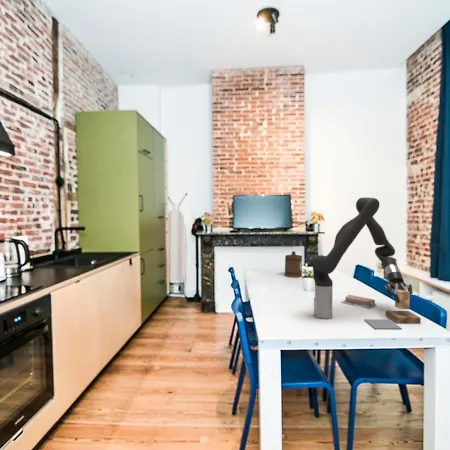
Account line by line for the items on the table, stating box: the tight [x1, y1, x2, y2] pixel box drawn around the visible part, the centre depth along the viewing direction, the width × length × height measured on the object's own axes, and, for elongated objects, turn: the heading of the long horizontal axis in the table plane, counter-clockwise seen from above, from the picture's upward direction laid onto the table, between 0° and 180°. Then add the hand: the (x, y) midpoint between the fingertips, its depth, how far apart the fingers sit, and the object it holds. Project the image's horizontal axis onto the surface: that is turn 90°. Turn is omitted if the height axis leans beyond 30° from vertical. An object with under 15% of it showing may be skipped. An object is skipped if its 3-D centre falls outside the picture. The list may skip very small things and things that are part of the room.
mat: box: [364, 318, 402, 330], centre depth 166 cm, size 13×13×1 cm
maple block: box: [394, 290, 411, 310], centre depth 173 cm, size 5×5×9 cm
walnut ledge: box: [385, 310, 421, 325], centre depth 174 cm, size 12×12×3 cm
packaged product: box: [341, 294, 377, 310], centre depth 203 cm, size 18×5×10 cm
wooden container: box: [284, 250, 303, 278], centre depth 293 cm, size 15×15×22 cm
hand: (404, 302), depth 172 cm, fingers closed on maple block, 5 cm apart
